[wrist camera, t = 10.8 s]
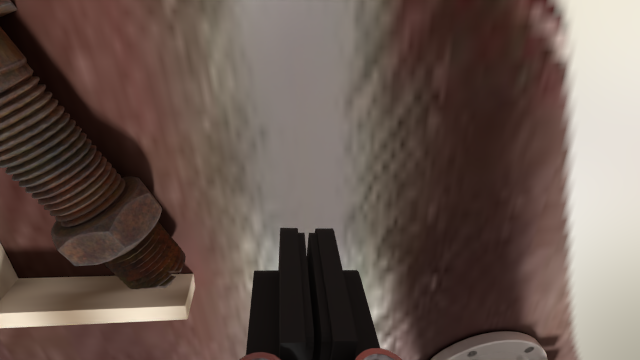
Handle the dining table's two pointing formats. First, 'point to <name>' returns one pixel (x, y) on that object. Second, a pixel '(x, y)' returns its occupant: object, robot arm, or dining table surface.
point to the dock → (87, 299)
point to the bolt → (79, 182)
